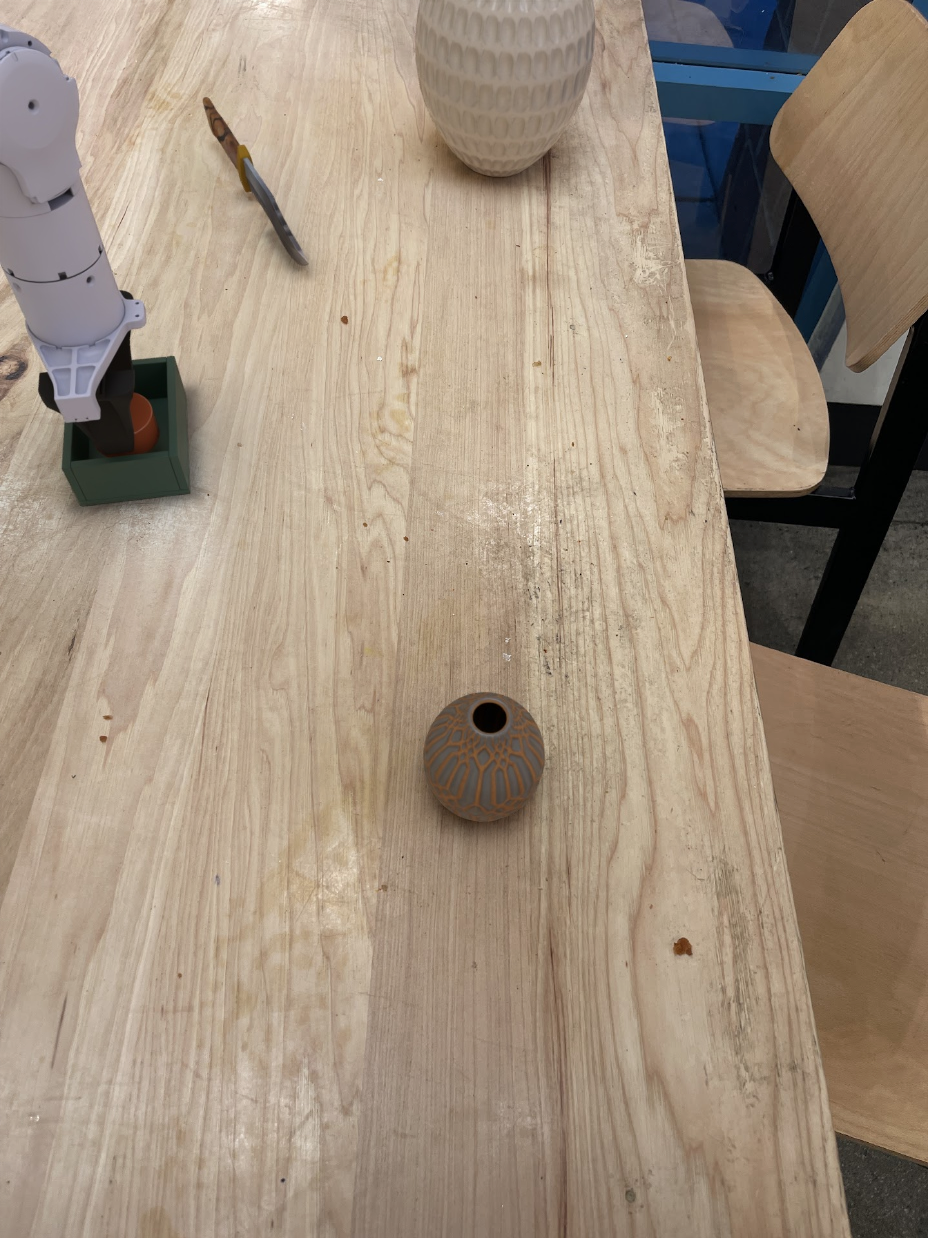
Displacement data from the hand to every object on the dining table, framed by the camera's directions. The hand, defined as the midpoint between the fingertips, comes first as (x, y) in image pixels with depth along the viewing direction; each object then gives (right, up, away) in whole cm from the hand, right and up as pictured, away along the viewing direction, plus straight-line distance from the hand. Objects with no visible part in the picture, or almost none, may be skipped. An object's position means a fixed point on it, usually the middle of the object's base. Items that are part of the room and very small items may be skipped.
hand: (119, 422), depth 62 cm
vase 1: (+27, +33, +27) cm, 51 cm away
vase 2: (+25, -24, -9) cm, 36 cm away
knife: (+5, +24, +21) cm, 32 cm away
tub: (0, -1, +4) cm, 4 cm away
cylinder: (0, -1, +1) cm, 1 cm away
